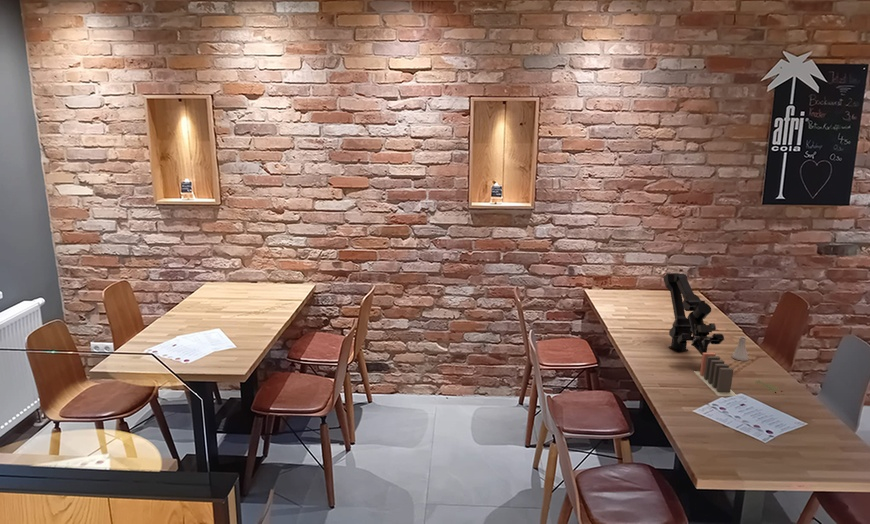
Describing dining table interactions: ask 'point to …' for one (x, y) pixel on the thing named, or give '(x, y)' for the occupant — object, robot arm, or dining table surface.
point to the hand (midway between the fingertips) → (704, 356)
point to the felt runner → (715, 388)
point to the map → (768, 386)
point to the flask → (741, 350)
